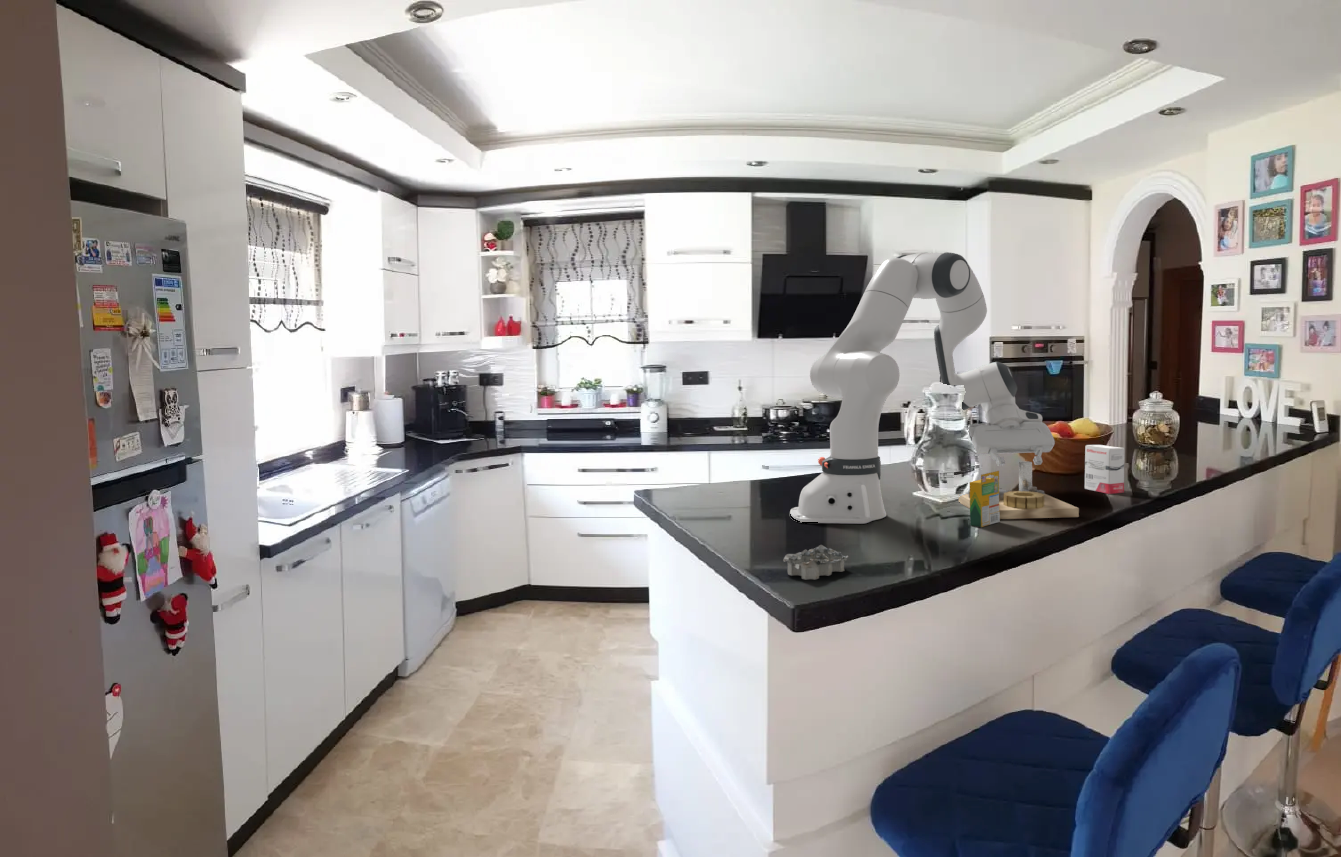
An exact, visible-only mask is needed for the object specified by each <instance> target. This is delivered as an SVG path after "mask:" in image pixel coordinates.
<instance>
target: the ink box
mask: <svg viewBox="0 0 1341 857" xmlns="http://www.w3.org/2000/svg"><path fill="white" fill-rule="evenodd" d="M1084 449H1085V451H1084V454H1085V455H1084V490H1089V491H1094V492H1099V493H1104V494H1108V495H1113V494H1122V493H1125V447H1119V446H1110V445H1103V444H1086V445H1085V448H1084Z"/></svg>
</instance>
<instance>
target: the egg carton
mask: <svg viewBox="0 0 1341 857" xmlns="http://www.w3.org/2000/svg"><path fill="white" fill-rule="evenodd" d="M848 558H849V555H848V554H846V555H843V553H842V552H841V551H836V550H834V549H832V548H831V547H829V548H827V547H826V546H824V545H823V544H820V545H818V546H816V547H815V548H811V549H809V550H807V549H804V550H802V551H801V552H800V551H799V552H796V553H787V554H785V555H784V557H783V560H782V561H783V562H787V570H786V571H787V575H789V576H791V577H792V576H800V577H801V579H802V580H813V581H814V580H818V579H820V576H828V577H829V576H831V575H832V574H833V572H838V573H839V572H841V573H842V572H845V561H846V562H847V560H848Z"/></svg>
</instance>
